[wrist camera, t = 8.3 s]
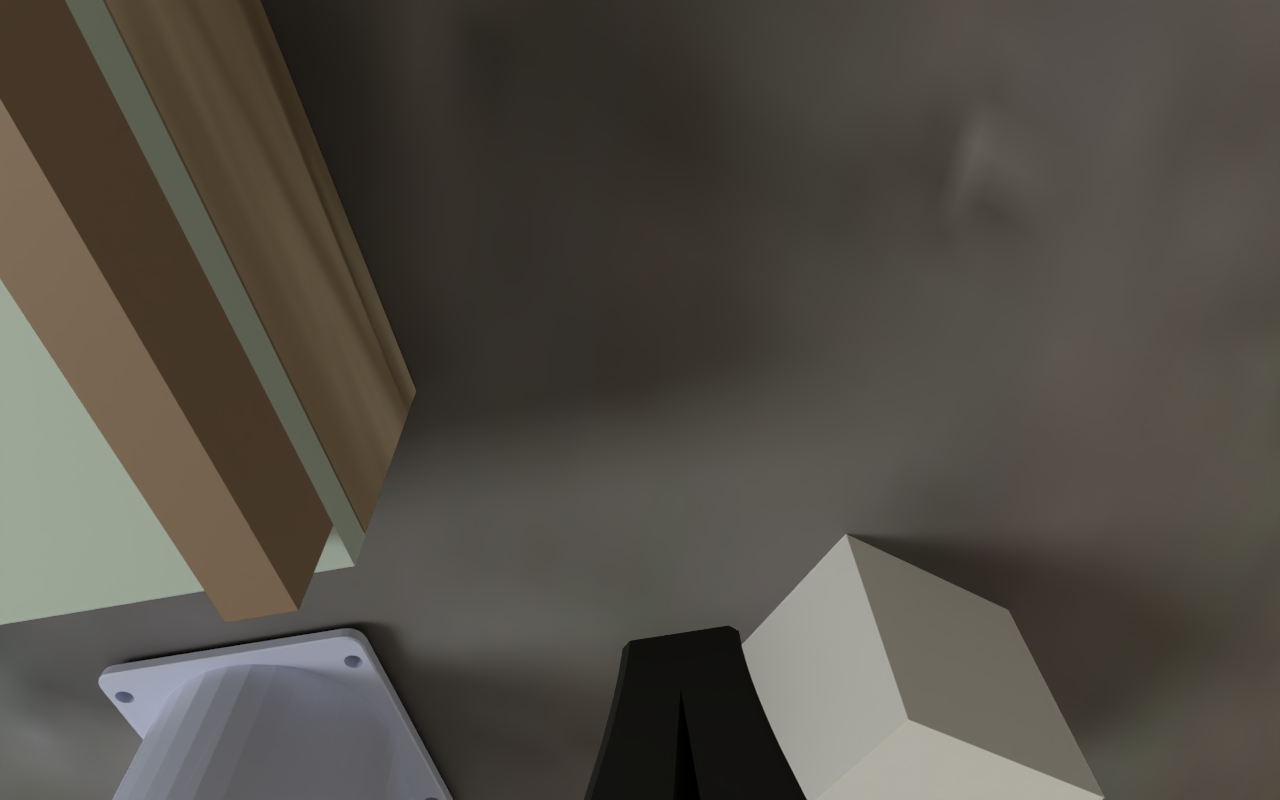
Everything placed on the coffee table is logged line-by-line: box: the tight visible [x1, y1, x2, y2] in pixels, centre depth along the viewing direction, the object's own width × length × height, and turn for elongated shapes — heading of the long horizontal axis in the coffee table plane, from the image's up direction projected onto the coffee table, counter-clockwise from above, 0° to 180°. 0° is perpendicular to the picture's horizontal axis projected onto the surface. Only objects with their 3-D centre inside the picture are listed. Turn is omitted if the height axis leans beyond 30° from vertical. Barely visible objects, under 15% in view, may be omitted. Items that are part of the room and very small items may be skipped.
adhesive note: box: [742, 534, 1105, 800], centre depth 23 cm, size 6×6×6 cm
